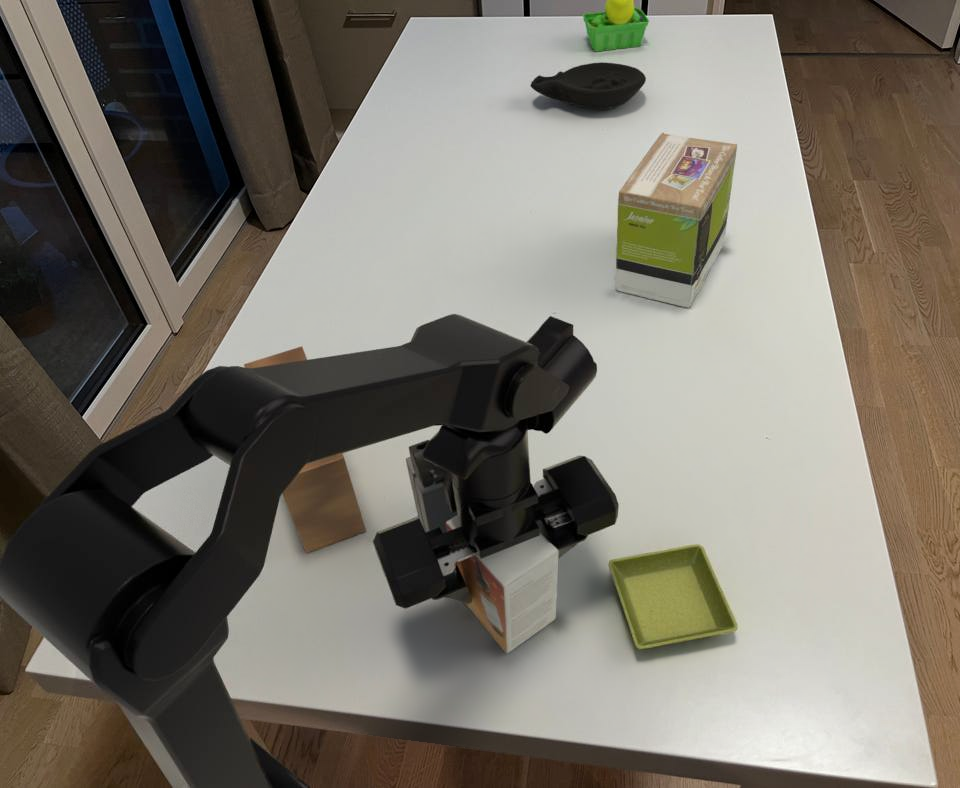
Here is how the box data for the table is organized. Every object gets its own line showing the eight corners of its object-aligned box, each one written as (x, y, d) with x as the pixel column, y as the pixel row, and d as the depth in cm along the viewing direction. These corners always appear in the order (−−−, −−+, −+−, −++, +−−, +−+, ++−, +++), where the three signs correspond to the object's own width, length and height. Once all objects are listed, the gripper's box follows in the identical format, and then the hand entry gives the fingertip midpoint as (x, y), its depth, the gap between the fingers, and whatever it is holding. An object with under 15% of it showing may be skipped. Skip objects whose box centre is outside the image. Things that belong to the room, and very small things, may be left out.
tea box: (652, 229, 109) (661, 128, 99) (725, 245, 106) (742, 142, 95) (612, 292, 100) (617, 188, 90) (689, 311, 97) (704, 205, 86)
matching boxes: (306, 553, 76) (276, 481, 68) (272, 437, 87) (243, 364, 79) (366, 531, 77) (344, 457, 69) (325, 420, 88) (302, 345, 81)
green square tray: (699, 555, 72) (701, 542, 71) (736, 642, 66) (740, 629, 65) (606, 572, 72) (607, 560, 70) (635, 662, 66) (636, 649, 64)
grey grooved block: (435, 560, 74) (421, 494, 67) (419, 524, 77) (405, 458, 70) (513, 530, 76) (508, 463, 69) (495, 496, 79) (488, 428, 72)
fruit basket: (637, 33, 158) (641, -28, 150) (650, 50, 152) (654, -13, 144) (581, 40, 158) (582, -21, 150) (591, 58, 151) (592, -5, 143)
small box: (452, 591, 72) (442, 520, 64) (502, 558, 74) (497, 486, 66) (506, 656, 67) (502, 588, 59) (558, 620, 69) (560, 549, 62)
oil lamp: (532, 86, 145) (531, 58, 141) (640, 81, 143) (642, 53, 139) (530, 124, 134) (529, 96, 131) (647, 119, 132) (649, 90, 129)
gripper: (557, 359, 64) (559, 479, 75) (336, 436, 60) (372, 551, 71) (626, 454, 57) (617, 572, 68) (379, 549, 53) (412, 657, 64)
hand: (503, 583), depth 68 cm, fingers closed on small box, 6 cm apart
